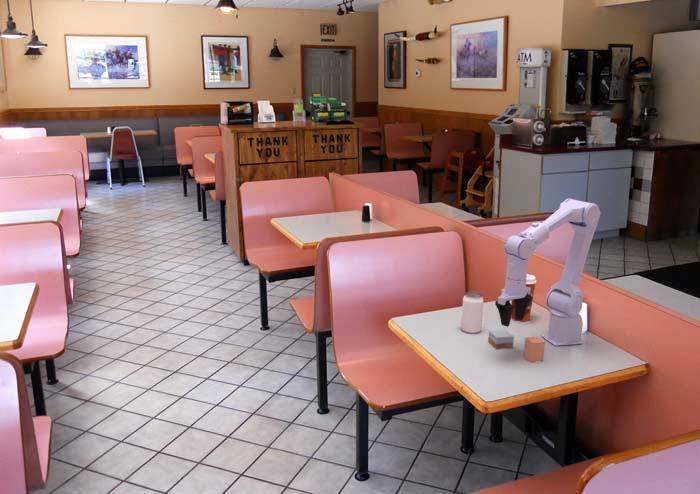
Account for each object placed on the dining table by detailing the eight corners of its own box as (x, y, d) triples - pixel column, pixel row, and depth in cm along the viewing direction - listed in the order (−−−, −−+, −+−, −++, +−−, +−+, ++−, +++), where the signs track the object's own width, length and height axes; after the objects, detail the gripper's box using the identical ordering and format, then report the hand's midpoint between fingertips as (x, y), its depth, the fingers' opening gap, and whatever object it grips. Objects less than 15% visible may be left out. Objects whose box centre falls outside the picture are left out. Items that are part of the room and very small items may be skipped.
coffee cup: (535, 323, 212) (540, 280, 208) (510, 322, 212) (514, 279, 208) (529, 314, 220) (533, 272, 216) (505, 313, 220) (509, 272, 216)
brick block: (535, 355, 187) (537, 336, 185) (542, 361, 183) (544, 341, 181) (523, 356, 186) (525, 337, 184) (530, 362, 182) (532, 342, 180)
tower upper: (505, 335, 196) (505, 329, 196) (513, 342, 191) (513, 336, 191) (488, 336, 195) (489, 330, 195) (496, 343, 190) (496, 337, 190)
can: (476, 335, 201) (479, 299, 198) (457, 330, 204) (460, 295, 201) (484, 329, 206) (486, 293, 203) (465, 324, 209) (467, 290, 206)
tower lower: (504, 341, 197) (504, 335, 196) (512, 349, 192) (513, 342, 191) (487, 343, 196) (488, 337, 195) (495, 350, 190) (496, 344, 190)
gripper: (517, 269, 189) (513, 312, 193) (490, 279, 179) (486, 324, 183) (538, 275, 184) (534, 318, 188) (511, 285, 174) (507, 331, 178)
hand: (512, 322), depth 185 cm, fingers open, 7 cm apart
